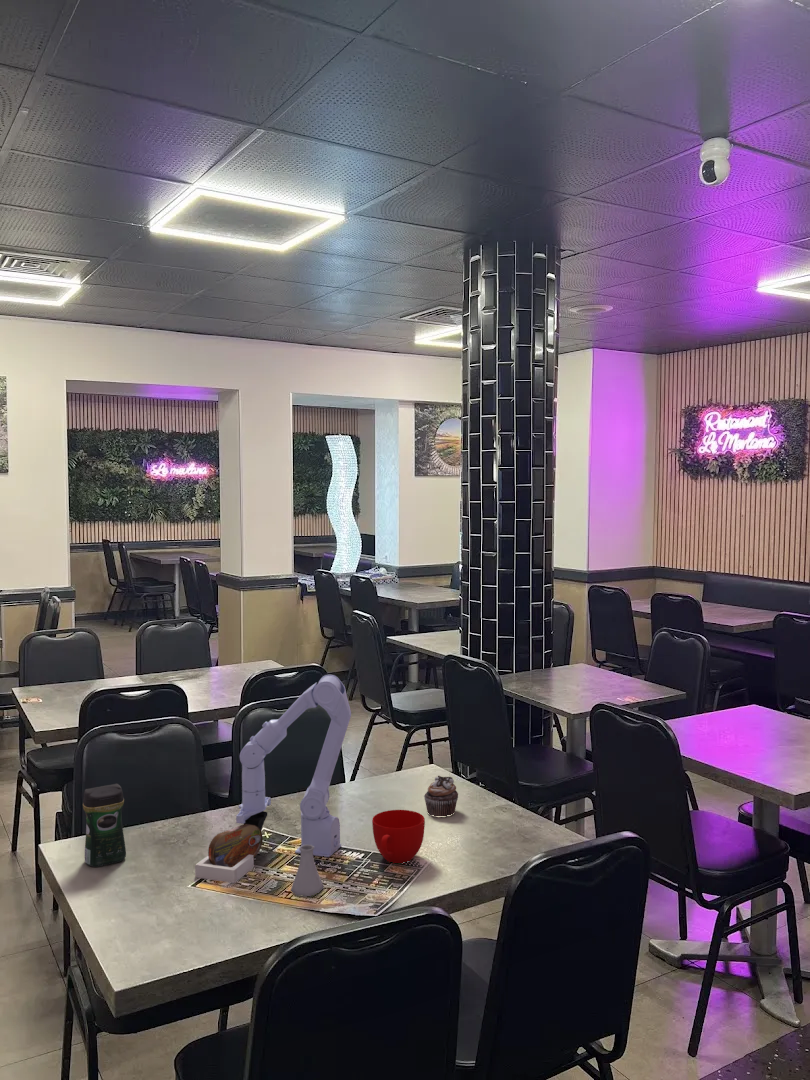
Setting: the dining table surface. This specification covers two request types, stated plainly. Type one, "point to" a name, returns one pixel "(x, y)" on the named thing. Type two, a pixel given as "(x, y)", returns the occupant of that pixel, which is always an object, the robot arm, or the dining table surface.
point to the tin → (235, 845)
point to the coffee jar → (104, 825)
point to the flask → (307, 874)
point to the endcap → (223, 870)
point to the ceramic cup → (398, 834)
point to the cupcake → (441, 797)
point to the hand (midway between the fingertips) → (254, 841)
